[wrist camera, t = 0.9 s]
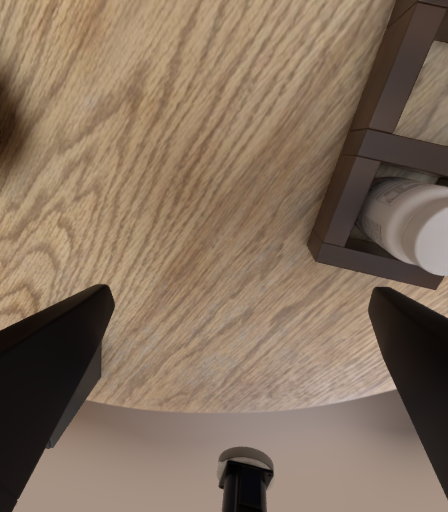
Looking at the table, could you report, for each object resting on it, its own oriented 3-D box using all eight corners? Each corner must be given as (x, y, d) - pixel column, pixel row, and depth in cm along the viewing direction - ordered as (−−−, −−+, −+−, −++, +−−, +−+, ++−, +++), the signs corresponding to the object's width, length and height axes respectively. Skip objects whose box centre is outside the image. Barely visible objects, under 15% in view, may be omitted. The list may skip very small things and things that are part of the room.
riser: (100, 377, 32) (51, 450, 24) (46, 363, 32) (-20, 432, 24) (101, 333, 29) (45, 401, 21) (42, 319, 29) (-34, 381, 22)
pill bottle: (398, 239, 21) (479, 291, 14) (342, 229, 22) (390, 274, 14) (426, 181, 20) (537, 204, 12) (363, 170, 20) (433, 185, 12)
